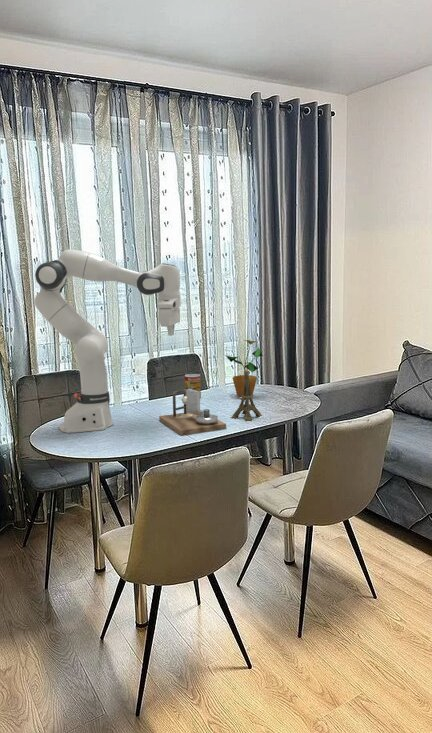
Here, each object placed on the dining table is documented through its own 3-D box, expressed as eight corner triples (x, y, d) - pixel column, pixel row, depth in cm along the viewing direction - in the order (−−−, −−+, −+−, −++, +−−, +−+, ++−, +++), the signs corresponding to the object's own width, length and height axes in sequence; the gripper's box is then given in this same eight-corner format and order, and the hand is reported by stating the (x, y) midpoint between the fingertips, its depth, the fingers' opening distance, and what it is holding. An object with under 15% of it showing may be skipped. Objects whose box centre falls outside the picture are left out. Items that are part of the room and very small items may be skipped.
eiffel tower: (244, 413, 258) (244, 358, 254) (263, 416, 251) (263, 361, 247) (230, 418, 250) (229, 362, 246) (249, 422, 244) (249, 364, 239)
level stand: (181, 435, 225) (180, 404, 223) (159, 420, 248) (158, 391, 245) (226, 428, 234) (225, 398, 232) (201, 414, 256) (200, 386, 254)
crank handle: (175, 416, 244) (174, 389, 242) (191, 413, 250) (191, 386, 248) (205, 426, 230) (205, 397, 228) (222, 421, 236) (221, 393, 234)
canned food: (190, 401, 282) (190, 377, 279) (182, 398, 288) (181, 375, 286) (203, 398, 286) (203, 375, 284) (194, 396, 292) (194, 373, 290)
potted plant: (268, 399, 283) (268, 339, 278) (232, 402, 279) (232, 341, 273) (256, 391, 300) (256, 335, 295) (222, 394, 296) (221, 336, 290)
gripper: (169, 300, 250) (170, 332, 253) (156, 304, 231) (157, 338, 233) (183, 300, 249) (184, 332, 252) (171, 304, 229) (172, 338, 232)
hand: (171, 335), depth 242 cm, fingers closed
